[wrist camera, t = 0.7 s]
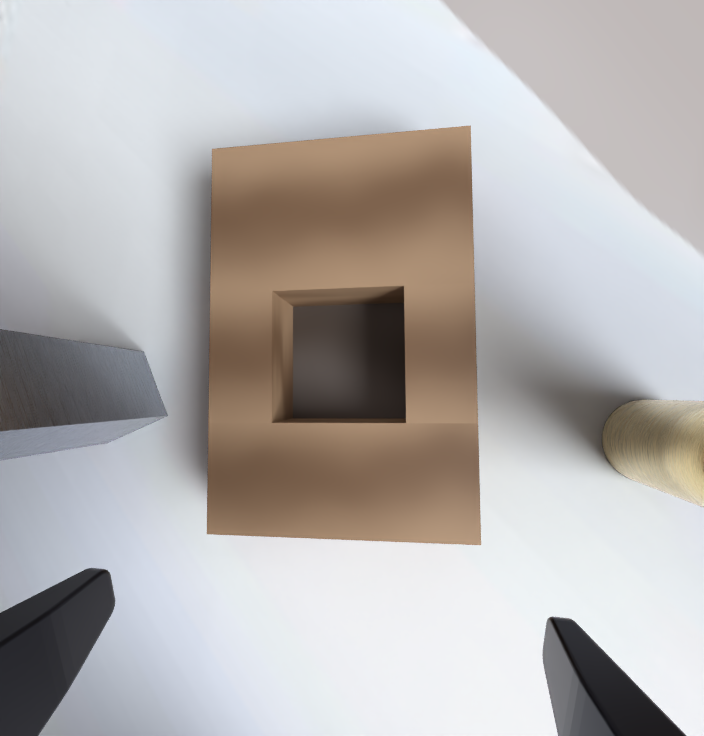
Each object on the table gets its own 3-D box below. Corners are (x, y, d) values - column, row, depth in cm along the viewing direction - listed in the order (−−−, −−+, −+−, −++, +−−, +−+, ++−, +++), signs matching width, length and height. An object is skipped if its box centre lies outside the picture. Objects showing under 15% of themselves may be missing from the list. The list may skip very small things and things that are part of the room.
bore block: (467, 517, 21) (481, 545, 18) (241, 509, 23) (206, 534, 19) (459, 172, 23) (470, 125, 19) (244, 188, 24) (212, 149, 20)
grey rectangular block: (167, 415, 24) (-113, 441, 11) (107, 442, 24) (-229, 497, 12) (143, 351, 24) (-152, 305, 12) (85, 379, 25) (-263, 364, 12)
